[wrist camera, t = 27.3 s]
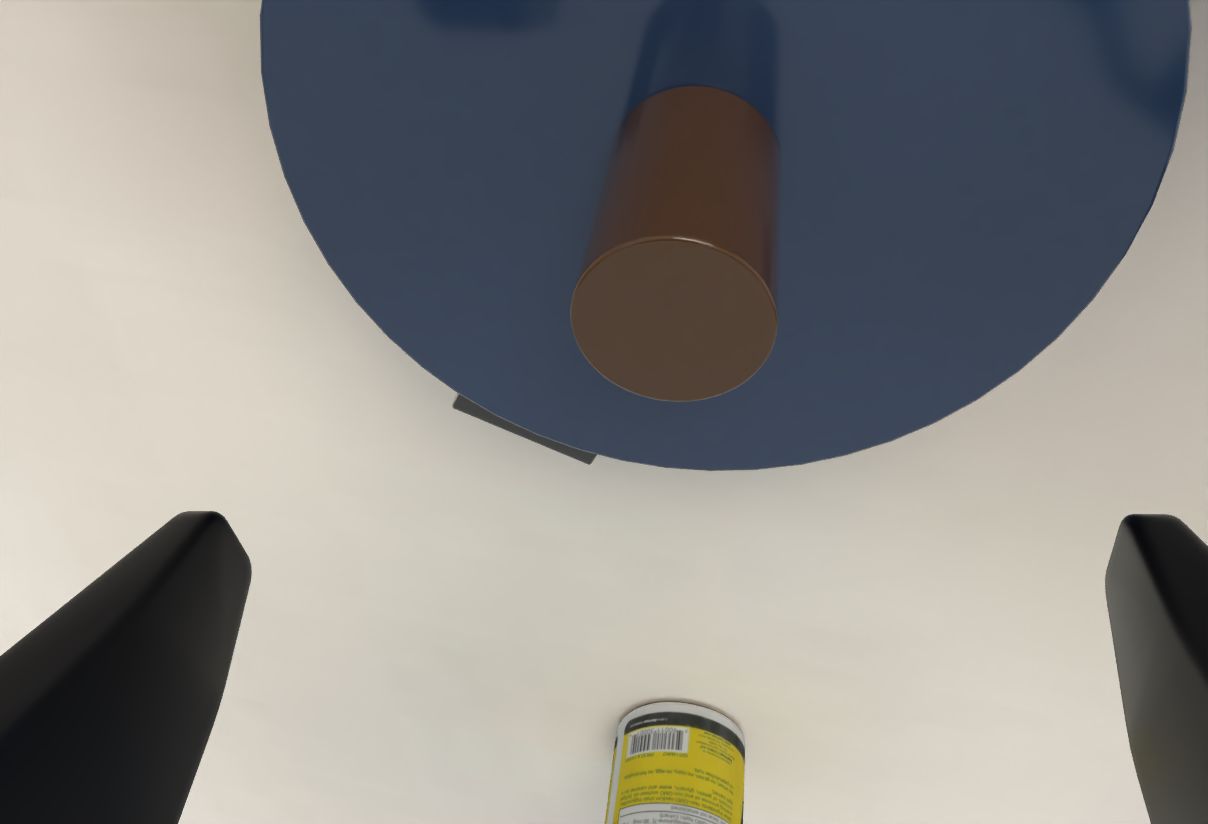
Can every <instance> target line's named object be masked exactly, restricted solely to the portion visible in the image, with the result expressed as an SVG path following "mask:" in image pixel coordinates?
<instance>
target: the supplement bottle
mask: <svg viewBox="0 0 1208 824" xmlns="http://www.w3.org/2000/svg"><path fill="white" fill-rule="evenodd" d="M744 765H745V742H744V738H743V735H742V733H741V731H740V729H739V728H738V727H737V726H736V725H735V724H734V723H733V722H732V721H731V720H730V719H728V718H727V717H725V716H724V715H722V714H720V713H718V712H716V711H713V710H711V709H708V708H704V707H701V706H697V705H692V704H687V703H681V702H659V703H652V704H648V705H645V706H642V707H639V708H637V709H635V710H633V711H631V712H630V713H629V714H627V715H626V716H625V717H624V719H623V720H622V721H621V723H620V725H619V727H618V730H617V735H616V741H615V748H614V756H613V764H612V772H611V780H610V787H609V796H608V804H607V811H606V818H605V824H743V804H744V801H743V800H744Z"/></svg>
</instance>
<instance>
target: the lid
mask: <svg viewBox="0 0 1208 824" xmlns="http://www.w3.org/2000/svg"><path fill="white" fill-rule="evenodd" d="M1191 31H1192V23H1191V11H1190V0H262V2H261V11H260V40H261V74H262V81H263V87H264V93H265V100H266V106H267V113H268V119H269V125H270V129H271V133H272V136H273V139H274V143H275V146H276V150H277V153H278V157H279V160H280V163H281V167H282V170H283V174H284V177H285V179H286V181H287V184H288V186H289V188H290V191H291V193H292V195H293V198H294V200H295V202H296V205H297V207H298V209H299V212H300V214H301V216H302V219H303V221H304V223H305V225H306V226H307V228H308V230H309V232H310V233H311V235H312V237H313V239H314V240H315V242H316V244H317V246H318V247H319V249H320V251H321V253H322V254H323V256H324V258H325V259H326V261H327V263H328V265H329V266H330V267H331V269H332V270H333V271H334V273H335V274H336V275H337V277H338V278H339V280H340V281H341V282H342V284H343V285H344V286H345V288H346V289H347V290H348V292H349V293H350V294H351V296H352V297H353V299H354V300H355V301H356V303H357V304H358V305H359V306H360V307H361V308H362V309H363V310H364V311H365V312H366V314H367V315H368V316H369V317H370V318H371V319H372V320H373V321H374V322H375V323H376V324H377V326H378V327H379V328H380V329H381V330H382V331H383V332H384V333H385V334H386V335H387V336H388V337H389V338H390V339H391V340H392V341H393V342H394V343H395V344H396V345H398V346H399V347H400V348H401V349H402V350H403V351H404V352H406V353H407V354H408V355H409V356H410V357H411V358H412V359H413V360H415V361H416V362H417V363H418V364H419V365H420V366H421V367H422V368H424V369H425V370H427V371H428V372H429V373H431V374H432V375H434V376H435V377H436V378H438V379H439V380H440V381H442V382H443V383H445V384H446V385H447V386H449V387H450V388H452V389H453V390H454V391H456V392H457V393H458V394H460V395H462V396H464V397H465V398H467V399H469V400H470V401H472V402H474V403H476V404H477V405H479V406H481V407H482V408H484V409H486V410H488V411H489V412H491V413H493V414H494V415H496V416H498V417H500V418H502V419H504V420H507V421H509V422H511V423H513V424H515V425H517V426H519V427H522V428H524V429H526V430H528V431H530V432H532V433H535V434H537V435H539V436H542V437H545V438H548V439H551V440H553V441H556V442H559V443H562V444H565V445H567V446H570V447H573V448H576V449H579V450H582V451H586V452H590V453H594V454H598V455H602V456H606V457H610V458H614V459H618V460H621V461H627V462H634V463H640V464H646V465H652V466H658V467H665V468H677V469H692V470H706V471H724V470H758V469H767V468H776V467H785V466H794V465H802V464H806V463H811V462H816V461H821V460H826V459H831V458H835V457H840V456H845V455H848V454H852V453H855V452H858V451H861V450H865V449H868V448H871V447H874V446H878V445H881V444H884V443H887V442H890V441H893V440H895V439H898V438H900V437H902V436H905V435H907V434H910V433H912V432H914V431H917V430H919V429H922V428H924V427H926V426H929V425H931V424H933V423H936V422H937V421H939V420H941V419H943V418H945V417H947V416H948V415H950V414H952V413H954V412H956V411H958V410H959V409H961V408H963V407H965V406H967V405H969V404H971V403H972V402H974V401H976V400H978V399H979V398H981V397H982V396H984V395H985V394H987V393H988V392H989V391H991V390H992V389H994V388H995V387H997V386H998V385H1000V384H1001V383H1003V382H1004V381H1005V380H1007V379H1008V378H1010V377H1011V376H1013V375H1014V374H1016V373H1017V372H1019V371H1020V370H1021V369H1022V368H1023V367H1024V366H1026V365H1027V364H1028V363H1029V362H1030V361H1031V360H1033V359H1034V358H1035V357H1036V356H1037V355H1038V354H1040V353H1041V352H1042V351H1043V350H1044V349H1045V348H1046V347H1048V346H1049V345H1050V344H1051V343H1052V342H1053V341H1055V340H1056V339H1057V338H1058V337H1059V336H1060V335H1061V334H1062V333H1063V332H1064V330H1065V329H1066V328H1067V327H1068V326H1069V325H1070V324H1071V323H1072V322H1073V321H1074V320H1075V319H1076V317H1077V316H1078V315H1079V314H1080V313H1081V312H1082V311H1083V310H1084V309H1085V308H1086V307H1087V306H1088V304H1089V303H1090V302H1091V301H1092V300H1093V299H1094V298H1095V296H1096V295H1097V294H1098V292H1099V291H1100V289H1101V288H1102V287H1103V285H1104V284H1105V282H1106V281H1107V280H1108V278H1109V277H1110V276H1111V274H1112V273H1113V271H1114V270H1115V269H1116V267H1117V266H1118V264H1119V263H1120V262H1121V260H1122V259H1123V258H1124V256H1125V255H1126V253H1127V251H1128V249H1129V247H1130V246H1131V244H1132V242H1133V240H1134V238H1135V236H1136V234H1137V233H1138V231H1139V229H1140V227H1141V225H1142V223H1143V222H1144V220H1145V218H1146V216H1147V214H1148V212H1149V211H1150V209H1151V207H1152V205H1153V202H1154V200H1155V197H1156V194H1157V192H1158V189H1159V187H1160V184H1161V181H1162V179H1163V176H1164V173H1165V171H1166V168H1167V166H1168V163H1169V160H1170V158H1171V155H1172V153H1173V150H1174V146H1175V141H1176V137H1177V132H1178V128H1179V124H1180V119H1181V115H1182V110H1183V106H1184V102H1185V97H1186V93H1187V85H1188V72H1189V58H1190V45H1191Z"/></svg>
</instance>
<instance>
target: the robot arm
mask: <svg viewBox="0 0 1208 824" xmlns="http://www.w3.org/2000/svg"><path fill="white" fill-rule="evenodd" d="M251 573H252V570H251V563H250V559H249V557H248V555H247V553H246V552H245V550H244V548H243V547H242V545H241V543H240V542H239V540H238V538H237V537H236V535H235V533H234V532H233V530H232V528H231V527H230V525H229V523H228V522H227V520H226V519H225V517H224V516H223V515H221V514H220V513H218V512H214V511H187V512H183V513H180V514H178V515H177V516H175V517H174V518H172V519H171V520H170V521H169V522H167V523H166V524H165V525H164V526H162V527H161V528H160V529H159V530H157V531H156V532H155V533H154V534H152V535H151V536H150V537H149V538H147V539H146V540H145V541H144V542H142V543H141V544H140V545H139V546H137V547H136V548H135V549H134V550H132V551H131V552H130V553H129V554H127V555H126V556H125V557H124V558H122V559H121V560H120V561H119V562H117V563H116V564H115V565H114V566H112V567H111V568H110V569H109V570H107V571H106V572H105V573H104V574H102V575H101V576H100V577H99V578H97V579H96V580H95V581H94V582H92V583H91V584H90V585H89V586H87V587H86V588H85V589H84V590H82V591H81V592H80V593H79V594H77V595H76V596H75V597H74V598H72V599H71V600H70V601H69V602H67V603H66V604H65V605H64V606H62V607H61V608H60V609H59V610H57V611H56V612H55V613H54V614H52V615H51V616H50V617H49V618H47V619H46V620H45V621H44V622H42V623H41V624H40V625H39V626H37V627H36V628H35V629H34V630H32V631H31V632H30V633H29V634H27V635H26V636H25V637H24V638H22V639H21V640H20V641H19V642H17V643H16V644H15V645H14V646H12V647H11V648H10V649H9V650H7V651H6V652H5V653H4V654H2V655H1V656H0V824H178V822H179V819H180V817H181V814H182V811H183V808H184V805H185V803H186V800H187V797H188V794H189V792H190V789H191V786H192V783H193V780H194V778H195V775H196V772H197V769H198V767H199V764H200V761H201V758H202V755H203V753H204V750H205V747H206V744H207V742H208V739H209V736H210V733H211V730H212V728H213V725H214V721H215V718H216V715H217V712H218V709H219V706H220V703H221V699H222V696H223V692H224V688H225V685H226V681H227V676H228V672H229V668H230V664H231V660H232V656H233V652H234V648H235V644H236V640H237V636H238V631H239V627H240V623H241V619H242V615H243V611H244V607H245V603H246V599H247V595H248V590H249V586H250V582H251ZM1105 590H1106V599H1107V606H1108V612H1109V618H1110V625H1111V631H1112V638H1113V644H1114V650H1115V657H1116V663H1117V670H1118V676H1119V682H1120V689H1121V695H1122V701H1123V708H1124V714H1125V721H1126V727H1127V732H1128V738H1129V743H1130V749H1131V753H1132V757H1133V761H1134V765H1135V769H1136V773H1137V777H1138V780H1139V784H1140V787H1141V790H1142V794H1143V797H1144V801H1145V804H1146V808H1147V811H1148V815H1149V818H1150V822H1151V824H1208V546H1207V545H1206V544H1205V543H1204V542H1203V541H1202V540H1201V539H1200V538H1199V537H1198V536H1197V535H1196V534H1195V533H1194V532H1193V531H1192V530H1191V529H1190V528H1189V527H1188V526H1187V525H1186V524H1185V523H1183V522H1182V521H1181V520H1180V519H1178V518H1177V517H1175V516H1172V515H1166V514H1132V515H1128V516H1126V517H1125V518H1124V519H1123V520H1122V522H1121V524H1120V526H1119V530H1118V533H1117V536H1116V540H1115V543H1114V546H1113V550H1112V553H1111V557H1110V560H1109V563H1108V567H1107V571H1106V578H1105Z"/></svg>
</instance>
